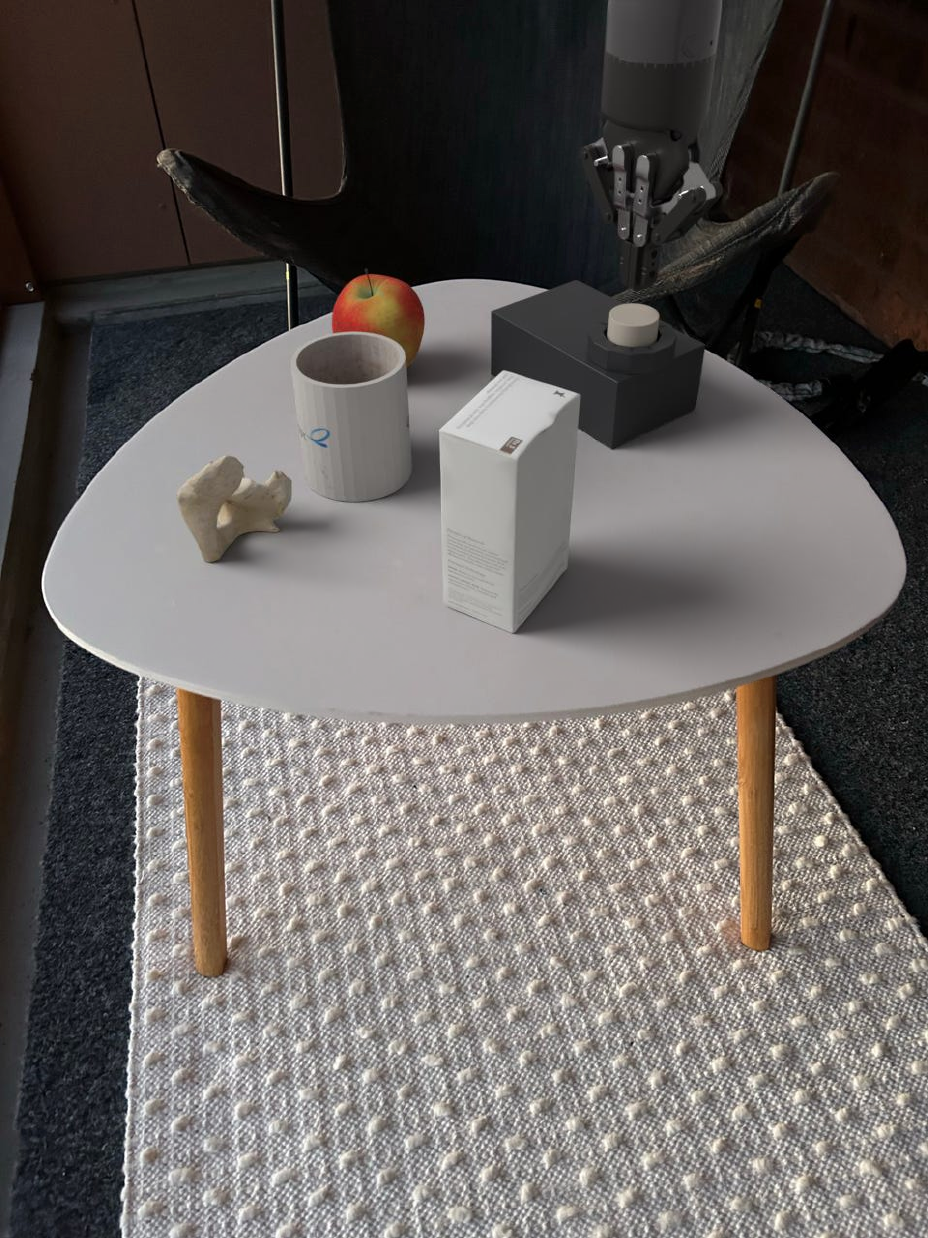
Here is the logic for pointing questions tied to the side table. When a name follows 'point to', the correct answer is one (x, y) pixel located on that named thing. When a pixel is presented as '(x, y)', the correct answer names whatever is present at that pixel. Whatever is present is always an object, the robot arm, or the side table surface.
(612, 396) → the dark gray box
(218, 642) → the side table surface
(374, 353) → the mug
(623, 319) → the beige push button
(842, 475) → the side table surface
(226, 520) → the bone
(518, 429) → the cosmetic box
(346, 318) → the apple
